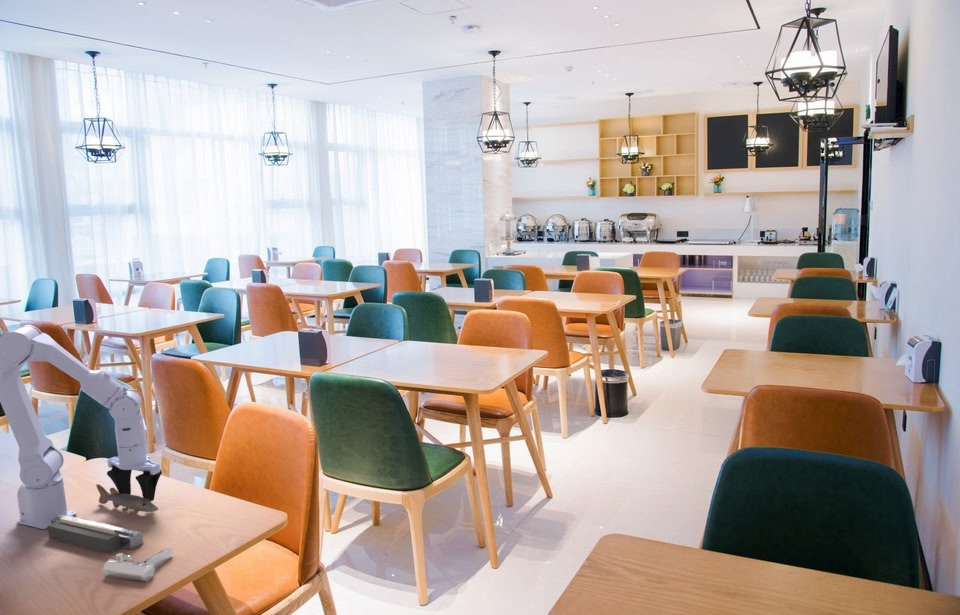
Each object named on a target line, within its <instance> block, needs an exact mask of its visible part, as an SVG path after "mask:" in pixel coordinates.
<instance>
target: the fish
mask: <svg viewBox="0 0 960 615" xmlns="http://www.w3.org/2000/svg"><path fill="white" fill-rule="evenodd" d="M95 486H96V488H97V491H98V493H99V494H100V495H99V499H98V502H99V504H101V505H105V504H107V503H108V502H112V504H113V507H114V509H118V508H119V507H122V509H121V510H122V512H125V513H126V512H128V510H131V511H130V512H129V515H131V516H137V514H138V513H139V512H145V513H154V512H156V511H158V510H159V507H158V506H156V505H155V504H154V503H153V502H152V501H150V500H148V499H146V498H143V496H140V495H135V494H131V495H130V494H124V493H119V492H118V490H116V489H117V488H116V487H110V489H109V492H108V491H107V490H106V489H105V487H104V486H102V485H101V484H95Z"/></svg>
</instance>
